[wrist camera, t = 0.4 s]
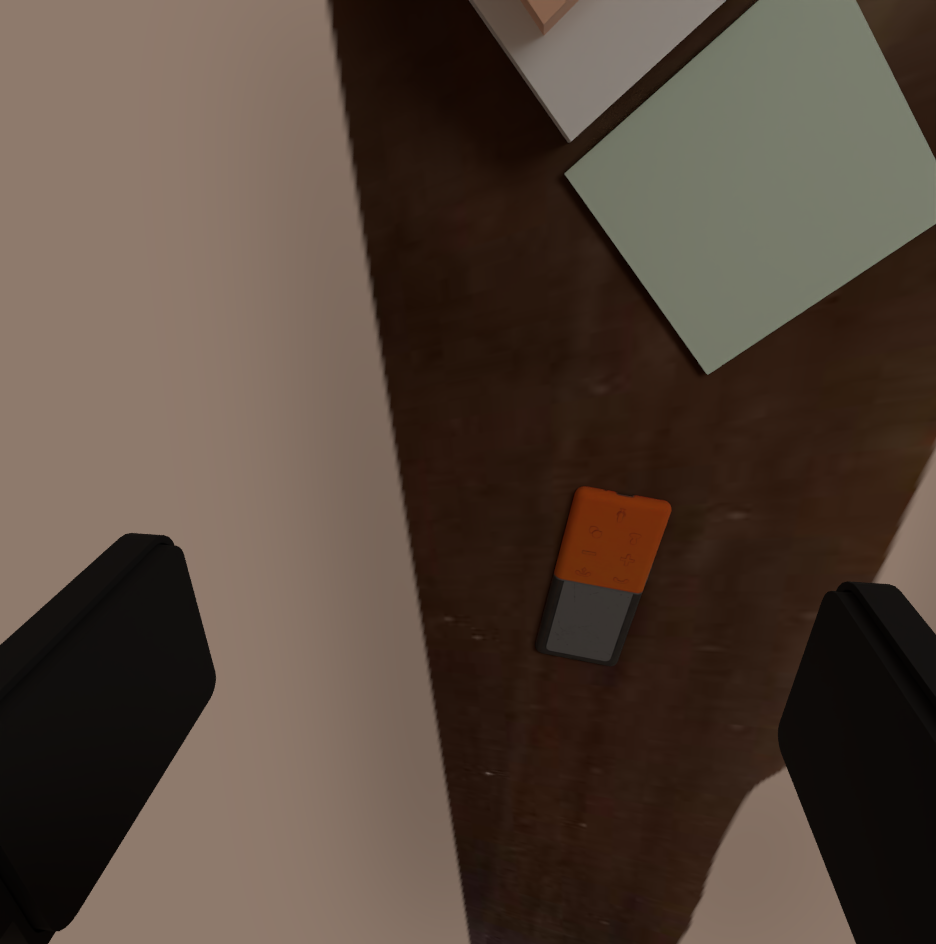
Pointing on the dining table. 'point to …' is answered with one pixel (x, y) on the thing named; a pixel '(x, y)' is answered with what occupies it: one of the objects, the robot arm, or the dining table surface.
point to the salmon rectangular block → (547, 11)
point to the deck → (590, 50)
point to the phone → (600, 574)
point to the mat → (763, 175)
